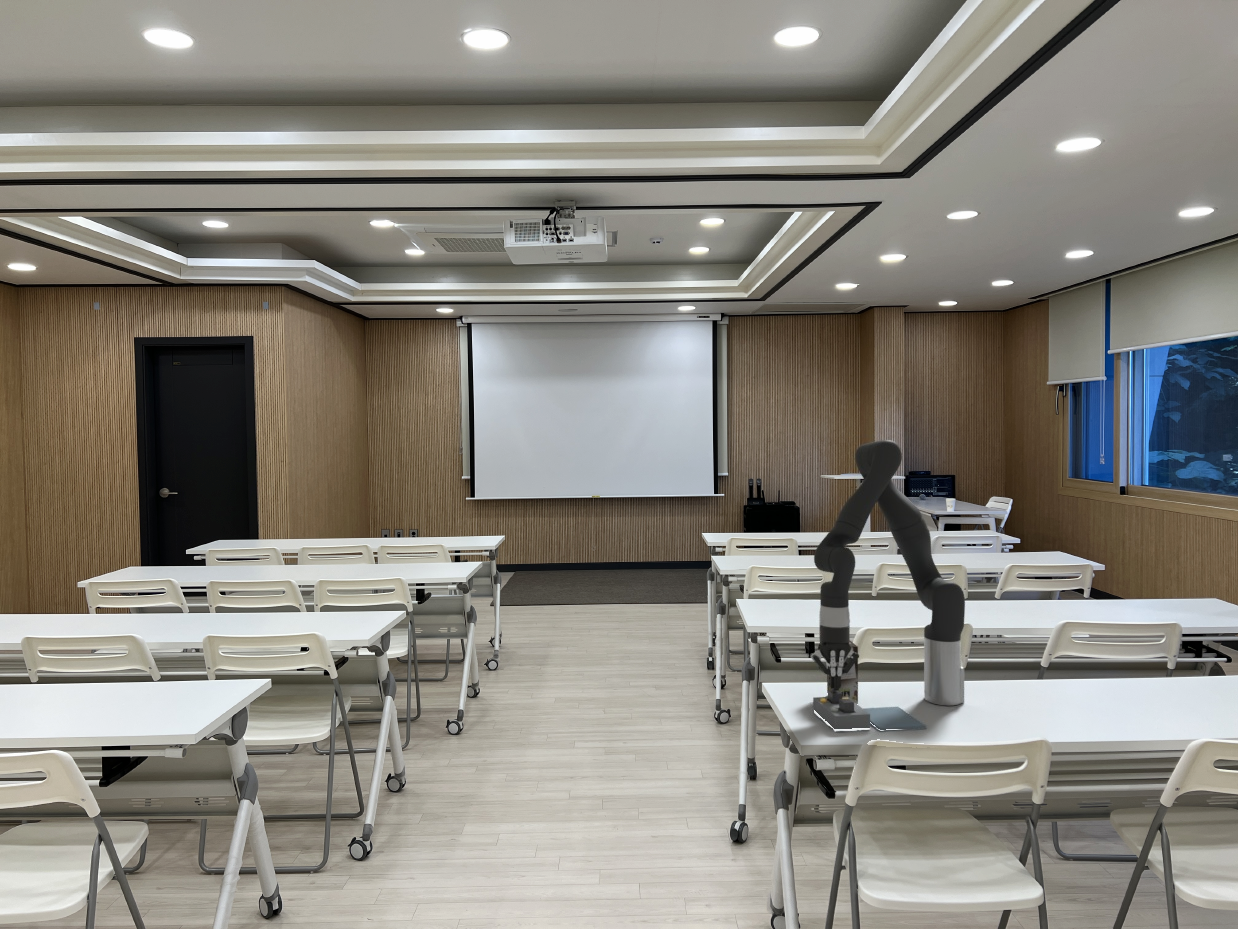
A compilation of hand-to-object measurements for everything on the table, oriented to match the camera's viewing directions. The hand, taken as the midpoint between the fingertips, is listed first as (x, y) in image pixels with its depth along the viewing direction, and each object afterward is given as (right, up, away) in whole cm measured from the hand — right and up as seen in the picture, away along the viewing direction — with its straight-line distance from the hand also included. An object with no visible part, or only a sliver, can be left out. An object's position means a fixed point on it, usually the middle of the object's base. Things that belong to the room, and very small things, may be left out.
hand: (834, 689), depth 192 cm
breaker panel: (+1, -7, -3) cm, 8 cm away
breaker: (+1, -4, -7) cm, 8 cm away
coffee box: (+6, -7, +12) cm, 15 cm away
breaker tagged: (0, -3, 0) cm, 3 cm away
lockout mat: (+13, -7, -3) cm, 15 cm away
